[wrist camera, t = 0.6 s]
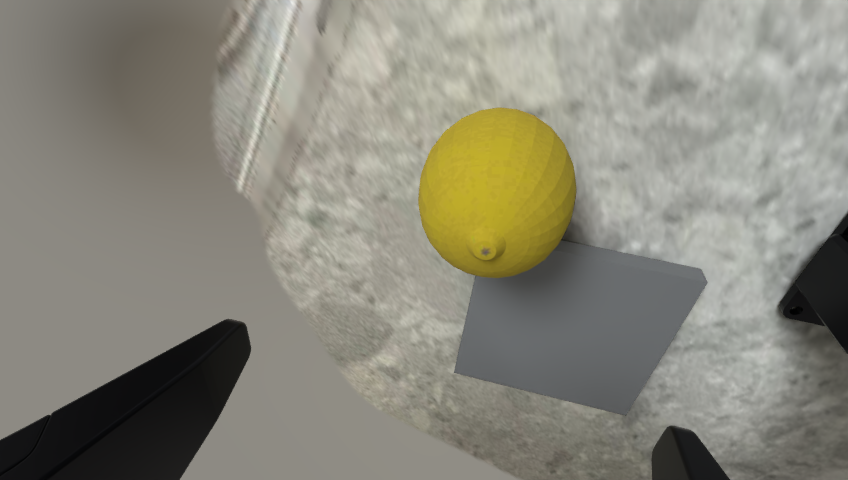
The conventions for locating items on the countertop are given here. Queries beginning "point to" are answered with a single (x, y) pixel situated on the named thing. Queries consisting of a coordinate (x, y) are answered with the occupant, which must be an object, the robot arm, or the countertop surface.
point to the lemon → (497, 193)
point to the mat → (578, 324)
